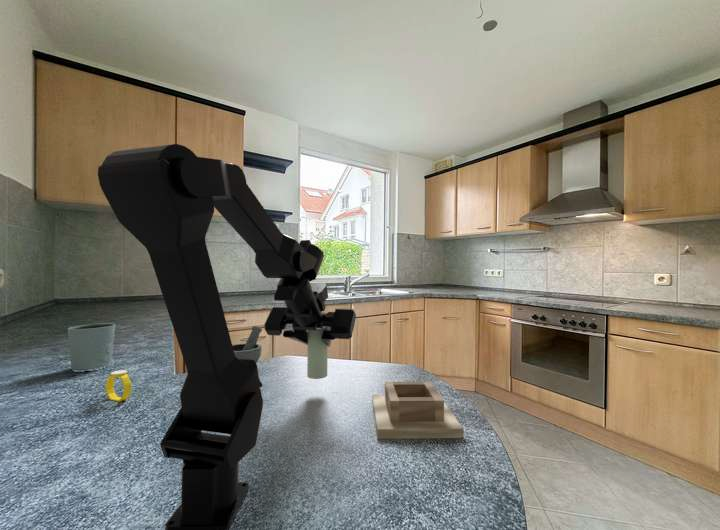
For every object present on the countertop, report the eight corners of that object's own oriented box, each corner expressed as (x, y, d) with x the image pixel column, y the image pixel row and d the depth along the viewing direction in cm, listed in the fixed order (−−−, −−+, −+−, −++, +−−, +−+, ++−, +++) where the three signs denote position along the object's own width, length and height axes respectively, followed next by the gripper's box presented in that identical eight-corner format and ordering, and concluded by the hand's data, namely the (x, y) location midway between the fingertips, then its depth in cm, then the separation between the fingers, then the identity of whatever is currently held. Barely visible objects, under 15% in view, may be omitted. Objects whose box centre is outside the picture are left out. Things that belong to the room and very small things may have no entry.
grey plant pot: (119, 366, 86) (121, 324, 86) (72, 376, 77) (74, 330, 78) (106, 361, 91) (107, 322, 92) (60, 369, 83) (62, 326, 83)
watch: (134, 400, 63) (136, 372, 63) (119, 405, 61) (122, 376, 61) (115, 394, 65) (117, 367, 65) (100, 399, 63) (103, 371, 63)
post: (326, 378, 64) (326, 318, 64) (305, 378, 64) (306, 318, 64) (328, 372, 68) (328, 315, 69) (308, 372, 68) (309, 315, 68)
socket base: (463, 438, 48) (463, 406, 48) (377, 438, 48) (377, 407, 48) (438, 401, 62) (438, 377, 62) (372, 402, 62) (372, 377, 62)
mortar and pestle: (239, 381, 74) (240, 332, 74) (214, 375, 78) (215, 329, 79) (271, 368, 84) (272, 326, 84) (248, 364, 88) (249, 323, 89)
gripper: (354, 270, 61) (365, 317, 71) (271, 270, 65) (293, 314, 75) (343, 312, 53) (357, 359, 63) (250, 310, 57) (277, 353, 67)
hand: (319, 344), depth 67 cm, fingers closed on post, 4 cm apart
